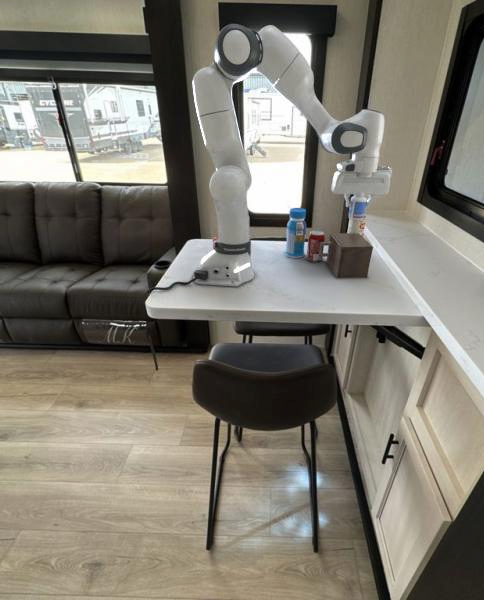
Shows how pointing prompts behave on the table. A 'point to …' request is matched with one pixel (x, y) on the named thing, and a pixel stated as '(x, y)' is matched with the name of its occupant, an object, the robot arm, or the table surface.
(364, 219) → the aerosol can
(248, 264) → the robot arm
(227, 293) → the table surface
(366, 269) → the cupboard
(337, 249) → the cupboard door
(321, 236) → the soda can
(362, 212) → the pill bottle
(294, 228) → the beverage bottle
